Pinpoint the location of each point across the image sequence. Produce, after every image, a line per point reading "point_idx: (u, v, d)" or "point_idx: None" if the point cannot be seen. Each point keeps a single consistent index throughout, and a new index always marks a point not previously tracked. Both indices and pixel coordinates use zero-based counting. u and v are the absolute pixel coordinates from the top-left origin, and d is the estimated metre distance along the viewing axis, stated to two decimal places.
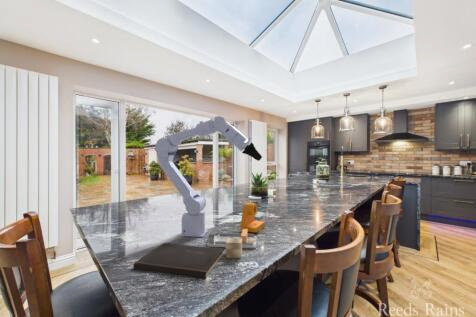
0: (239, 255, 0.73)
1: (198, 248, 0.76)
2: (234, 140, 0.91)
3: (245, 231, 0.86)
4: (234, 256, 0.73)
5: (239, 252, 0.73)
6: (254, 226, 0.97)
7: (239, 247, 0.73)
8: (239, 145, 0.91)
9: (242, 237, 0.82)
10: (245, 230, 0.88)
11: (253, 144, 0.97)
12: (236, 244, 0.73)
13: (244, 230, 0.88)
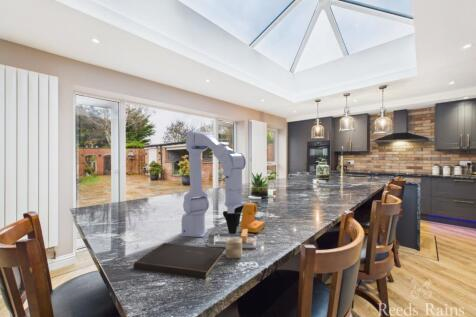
0: (239, 255, 0.73)
1: (198, 248, 0.76)
2: (229, 192, 0.72)
3: (245, 231, 0.86)
4: (234, 256, 0.73)
5: (239, 252, 0.73)
6: (254, 226, 0.97)
7: (239, 247, 0.73)
8: (228, 201, 0.72)
9: (242, 237, 0.82)
10: (245, 230, 0.88)
11: None
12: (236, 244, 0.73)
13: (244, 230, 0.88)
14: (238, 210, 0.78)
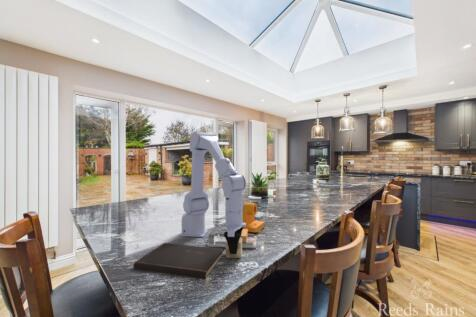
0: (239, 255, 0.73)
1: (198, 248, 0.76)
2: (229, 214, 0.72)
3: (245, 231, 0.86)
4: (234, 256, 0.73)
5: (239, 252, 0.73)
6: (254, 226, 0.97)
7: (239, 247, 0.73)
8: (228, 222, 0.73)
9: (242, 237, 0.82)
10: (245, 230, 0.88)
11: None
12: None
13: (244, 230, 0.88)
14: (238, 232, 0.77)
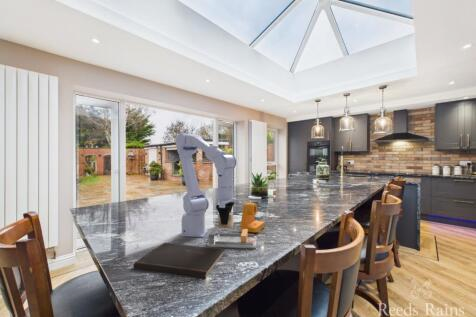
0: (230, 226, 0.81)
1: (198, 248, 0.76)
2: (221, 189, 0.81)
3: (245, 231, 0.86)
4: (225, 227, 0.82)
5: (230, 223, 0.81)
6: (254, 226, 0.97)
7: (230, 218, 0.81)
8: (220, 197, 0.81)
9: (242, 237, 0.82)
10: (245, 230, 0.88)
11: None
12: None
13: (244, 230, 0.88)
14: None
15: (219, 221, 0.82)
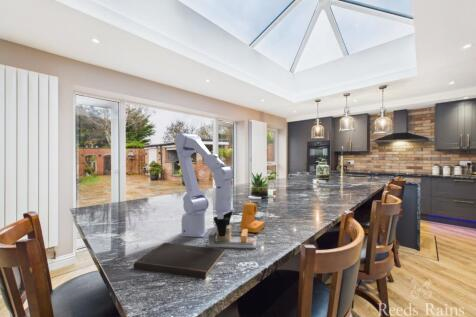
0: (228, 239, 0.84)
1: (198, 248, 0.76)
2: (219, 200, 0.84)
3: (245, 231, 0.86)
4: (223, 240, 0.84)
5: (228, 236, 0.84)
6: (254, 226, 0.97)
7: (228, 232, 0.84)
8: (218, 208, 0.84)
9: (242, 237, 0.82)
10: (245, 230, 0.88)
11: (232, 212, 0.91)
12: None
13: (244, 230, 0.88)
14: (228, 215, 0.90)
15: (217, 234, 0.85)
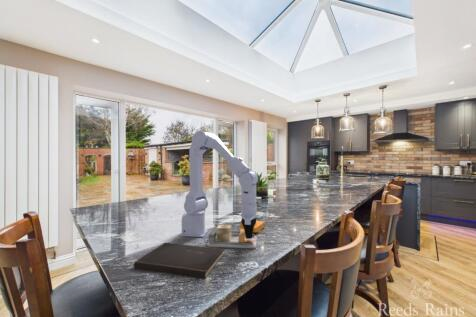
0: (228, 239, 0.84)
1: (198, 248, 0.76)
2: (245, 205, 0.83)
3: (243, 231, 0.86)
4: (223, 240, 0.84)
5: (228, 236, 0.84)
6: (254, 226, 0.97)
7: (228, 232, 0.84)
8: (244, 213, 0.83)
9: (240, 237, 0.82)
10: (243, 230, 0.88)
11: None
12: (225, 229, 0.84)
13: (242, 230, 0.88)
14: None
15: (217, 234, 0.85)
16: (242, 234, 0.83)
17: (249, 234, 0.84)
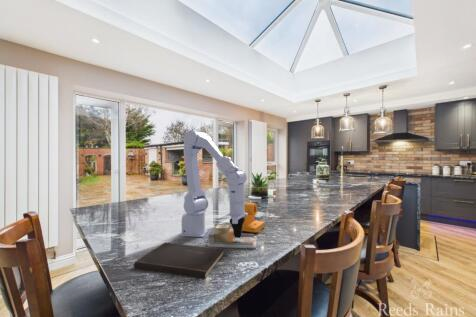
0: (226, 239, 0.84)
1: (198, 248, 0.76)
2: (233, 204, 0.83)
3: (232, 231, 0.87)
4: (222, 240, 0.84)
5: (226, 236, 0.84)
6: (254, 226, 0.97)
7: (226, 232, 0.84)
8: (232, 212, 0.83)
9: (228, 237, 0.82)
10: (232, 230, 0.88)
11: (244, 219, 0.87)
12: (224, 229, 0.84)
13: (231, 230, 0.88)
14: None
15: (216, 234, 0.85)
16: (231, 234, 0.84)
17: (238, 233, 0.85)
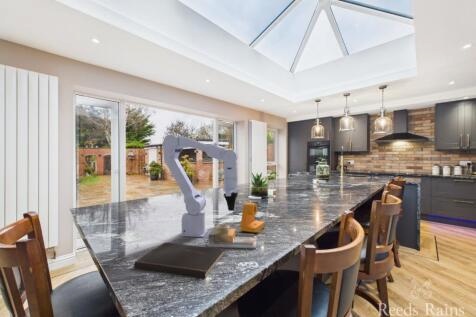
0: (226, 239, 0.84)
1: (198, 248, 0.76)
2: (226, 180, 0.92)
3: (232, 231, 0.87)
4: (222, 240, 0.84)
5: (226, 236, 0.84)
6: (254, 226, 0.97)
7: (226, 232, 0.84)
8: (226, 187, 0.92)
9: (229, 237, 0.82)
10: (232, 230, 0.88)
11: (237, 194, 0.95)
12: (224, 229, 0.84)
13: (231, 230, 0.88)
14: None
15: (216, 234, 0.85)
16: (231, 234, 0.84)
17: (231, 206, 0.93)
